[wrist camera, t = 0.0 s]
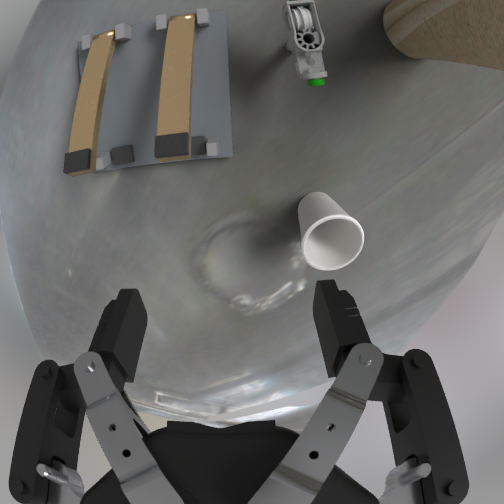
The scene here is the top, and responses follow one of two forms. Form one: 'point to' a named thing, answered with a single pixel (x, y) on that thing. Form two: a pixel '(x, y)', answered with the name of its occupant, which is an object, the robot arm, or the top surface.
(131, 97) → the mount plate
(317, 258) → the dixie cup
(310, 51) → the mechanical component
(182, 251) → the top surface
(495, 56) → the tube
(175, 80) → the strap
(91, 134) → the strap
